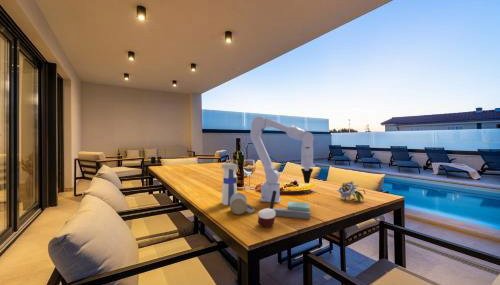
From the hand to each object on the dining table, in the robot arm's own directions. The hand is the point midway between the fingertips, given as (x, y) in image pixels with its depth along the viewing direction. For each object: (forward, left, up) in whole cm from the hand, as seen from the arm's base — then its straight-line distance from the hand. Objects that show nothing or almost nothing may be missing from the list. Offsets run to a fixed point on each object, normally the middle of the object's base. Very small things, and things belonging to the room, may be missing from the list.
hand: (306, 182), depth 112 cm
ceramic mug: (-28, -22, -10) cm, 37 cm away
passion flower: (+23, +13, -10) cm, 28 cm away
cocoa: (-14, -34, -10) cm, 38 cm away
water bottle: (-37, -11, -10) cm, 40 cm away
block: (-3, -17, -10) cm, 20 cm away
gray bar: (-6, -22, -10) cm, 25 cm away
